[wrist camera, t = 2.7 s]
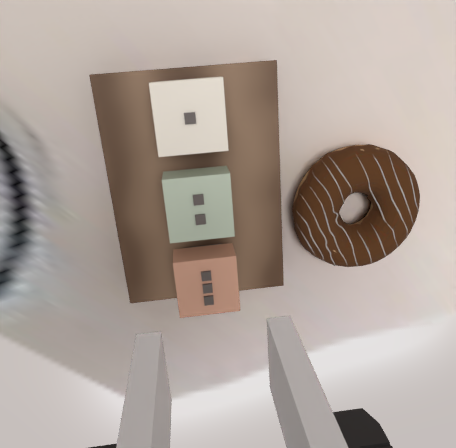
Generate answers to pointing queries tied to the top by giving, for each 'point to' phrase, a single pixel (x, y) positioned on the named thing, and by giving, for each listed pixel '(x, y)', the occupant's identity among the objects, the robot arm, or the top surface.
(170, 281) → the keypad
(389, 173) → the donut
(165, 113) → the cream key
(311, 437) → the robot arm
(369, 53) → the top surface
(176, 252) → the terracotta key
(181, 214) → the sage key
